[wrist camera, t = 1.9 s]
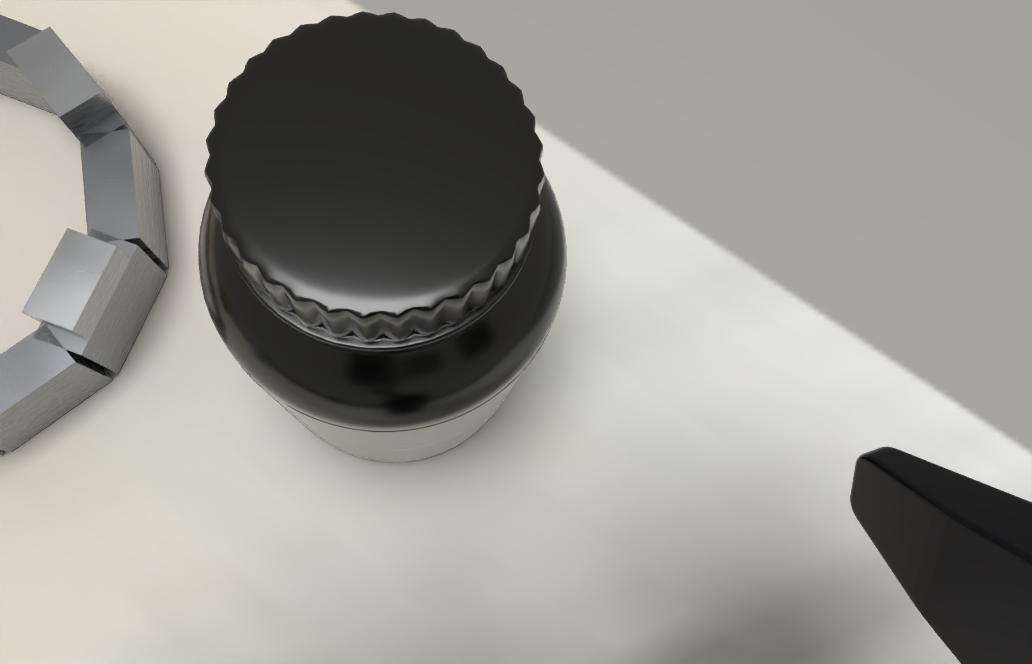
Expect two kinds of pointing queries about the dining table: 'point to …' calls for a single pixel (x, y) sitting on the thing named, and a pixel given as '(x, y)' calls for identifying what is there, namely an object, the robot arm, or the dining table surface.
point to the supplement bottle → (380, 233)
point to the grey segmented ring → (81, 244)
